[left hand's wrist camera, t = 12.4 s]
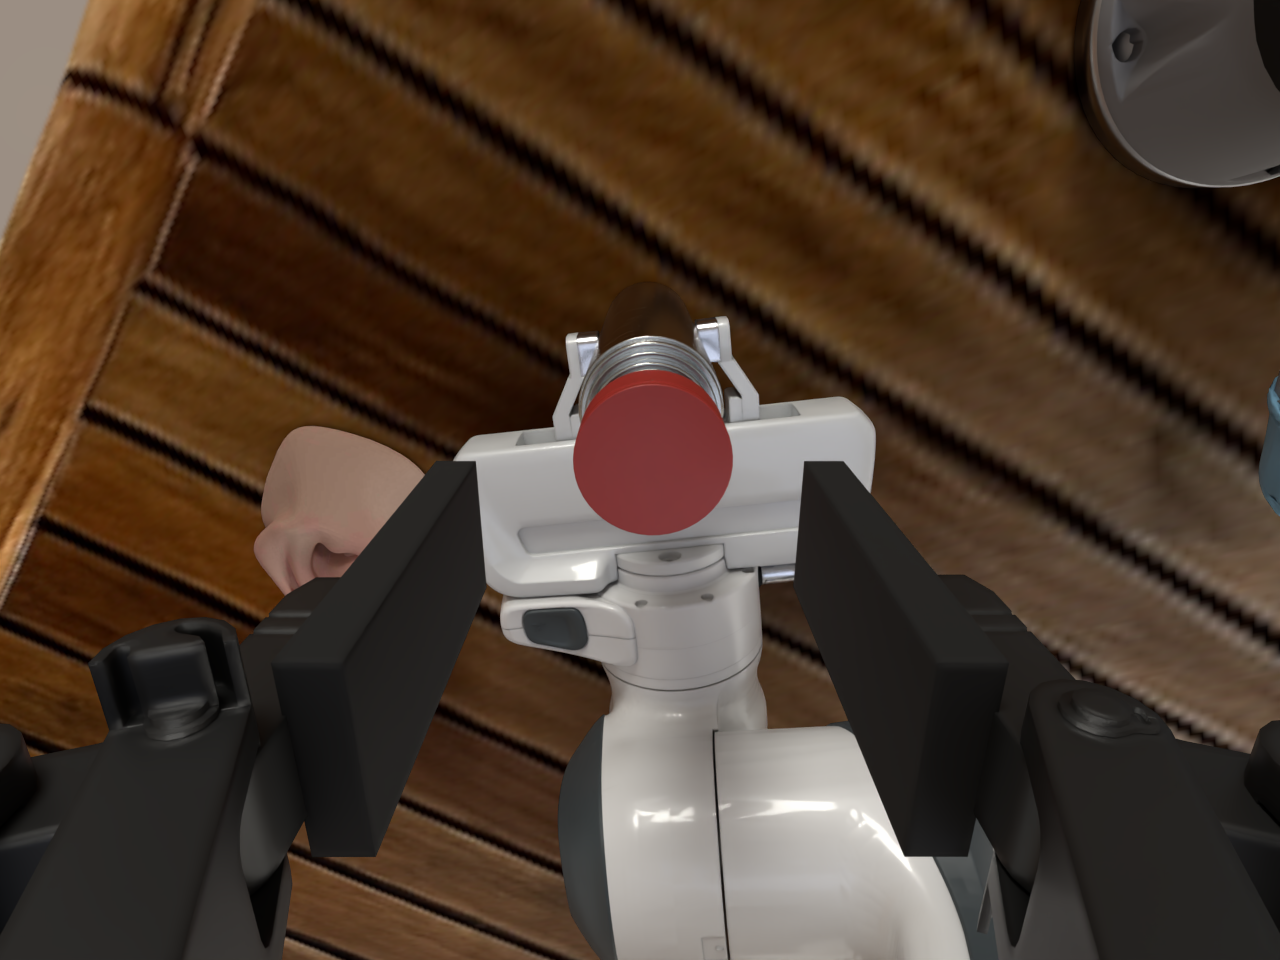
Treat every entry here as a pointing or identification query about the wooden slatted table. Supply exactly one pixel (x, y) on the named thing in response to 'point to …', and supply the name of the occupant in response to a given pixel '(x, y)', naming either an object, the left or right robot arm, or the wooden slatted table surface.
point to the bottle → (648, 343)
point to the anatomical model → (327, 503)
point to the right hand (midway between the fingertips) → (645, 326)
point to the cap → (652, 453)
